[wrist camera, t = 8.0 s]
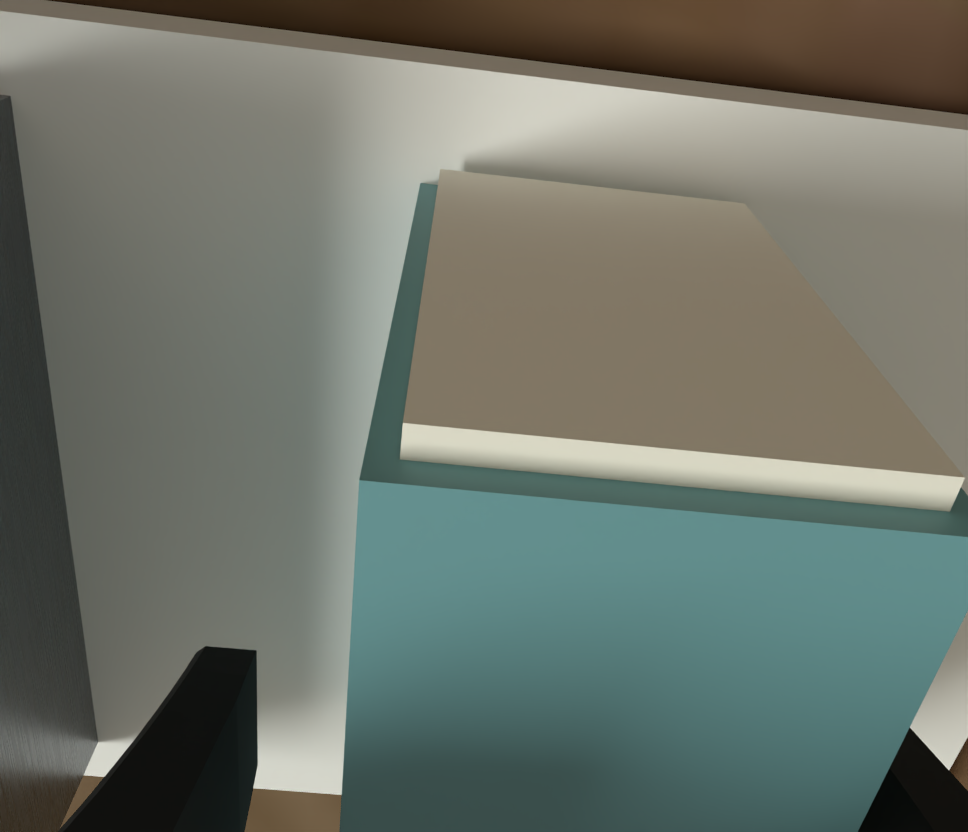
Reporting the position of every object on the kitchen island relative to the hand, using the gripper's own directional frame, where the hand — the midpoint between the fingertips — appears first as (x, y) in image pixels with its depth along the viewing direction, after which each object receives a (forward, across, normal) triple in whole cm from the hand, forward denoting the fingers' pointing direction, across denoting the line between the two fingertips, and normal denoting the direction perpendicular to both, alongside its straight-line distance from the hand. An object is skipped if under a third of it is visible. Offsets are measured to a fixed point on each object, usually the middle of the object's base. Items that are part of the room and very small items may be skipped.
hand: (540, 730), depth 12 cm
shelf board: (+5, 0, 0) cm, 5 cm away
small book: (+4, 0, 0) cm, 4 cm away
